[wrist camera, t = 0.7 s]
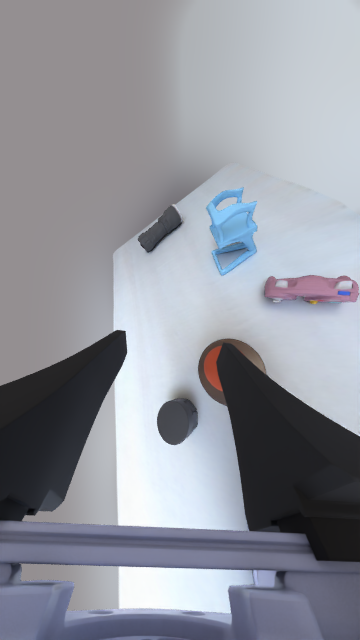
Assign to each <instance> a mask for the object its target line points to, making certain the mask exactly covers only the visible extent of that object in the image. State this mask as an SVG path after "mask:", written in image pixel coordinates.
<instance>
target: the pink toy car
mask: <svg viewBox="0 0 360 640" xmlns="http://www.w3.org/2000/svg"><path fill="white" fill-rule="evenodd" d="M358 290H359V287H358V284H357V283H356V281H354V280H351V279H350V278H349V277H347V276H340V277H338V278H337V279H335V278H324V277H321V276H315V275H309V276H303V277H299V278H287V279H275V277H273V276H271V277H269V278H268V280H267V282H266V284H265V297H269V298H272V299H274V300H275V301H273V302H274V303H279V302H282V301H279V300H282V299H285V300H296V297H297V296H304V301H310V303H311V304H316V303H317V302H329V303H341V302H356V300H357V297H358V295H359V293H358Z"/></svg>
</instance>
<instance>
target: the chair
mask: <svg viewBox="0 0 360 640" xmlns="http://www.w3.org/2000/svg"><path fill="white" fill-rule="evenodd" d="M243 189H244V187H242V188H240V189H236V190H226V191H223V192H221V193H220V194H218V195H217V196H216V197H215V198H214V199H213V200H212V201H211V202H210V203H209V204H208V206H207V207H206V209H207V211H208V213H209V215H210V217H211V220H212V225H211V226H210V230H211V232H212V235H213V236H214V239H215V241H216V243H217V245H218V247H219V249H216V250H213V251H212V255H213V257H214V260H215V262H216V265H217V267H218V269H219V272H220V274H221V275H225V274H226V273H228V272H229V271H230V270H232V269H233V268H235V267H236V266H237V265H239V264H240V263H241V262H243V261H244V260H245V259H247V258H248V257H250V256H251V255H253V254H254V253H256V252H257V250H256V246H255V244H254V241H253V238H252V236H253V233H254V232H256V231H257V225H256V224H255V222H254V221H253V220H252V215H253V212H254V209H255V206H256V203H257V201H254V202H251V203H241V201H242V193H243ZM229 197H238V199H237V204H232V205H230V206H228V207H227V208H225V209H223V210H221V211H218V210H217V209H216V206H217V205H218V204H219V203H220V202H221V201H222V200H224V199H226V198H229ZM246 212H249V213H248V214H247V213H246ZM235 242H242V243H238V244H235V245H231V246H227V245H228V244H232V243H235ZM225 246H227V247H225ZM246 247H247V248H248V250H247V251H246V252H245V253H243V254H242V255H241V256H240V257H238V258H237V259H236V260H235V261H233V262H232V263H231V264H230V265H228V266H227V267H226V268H225V269H223V270H222V268H221V266H220V264H219V261H218V259H217V256H216V254H219V253H224V252H229V251H234V250H238V249H242V248H246Z"/></svg>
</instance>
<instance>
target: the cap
mask: <svg viewBox="0 0 360 640" xmlns="http://www.w3.org/2000/svg"><path fill="white" fill-rule="evenodd" d="M196 410H197V409H196V408H195V407H194V405H193V404H192V403H191V401H190V400H188V399H175V400H172V401H168V402H166V403H165V404H163V406H162V407H161V408H160V410H159V413H158V417H157V426H158V430H159V433H160V435H161V437H162V438H163V440H164V441H165V442H167V443H169V444H171V445H177V444H180V443H181V442H183V441H184V440H185V439H186V438H187V437H188V436H189V435H190V434H191V433H192V432H193V430H194V429H195V428H196V427H197V424H198V423H197V411H196Z"/></svg>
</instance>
